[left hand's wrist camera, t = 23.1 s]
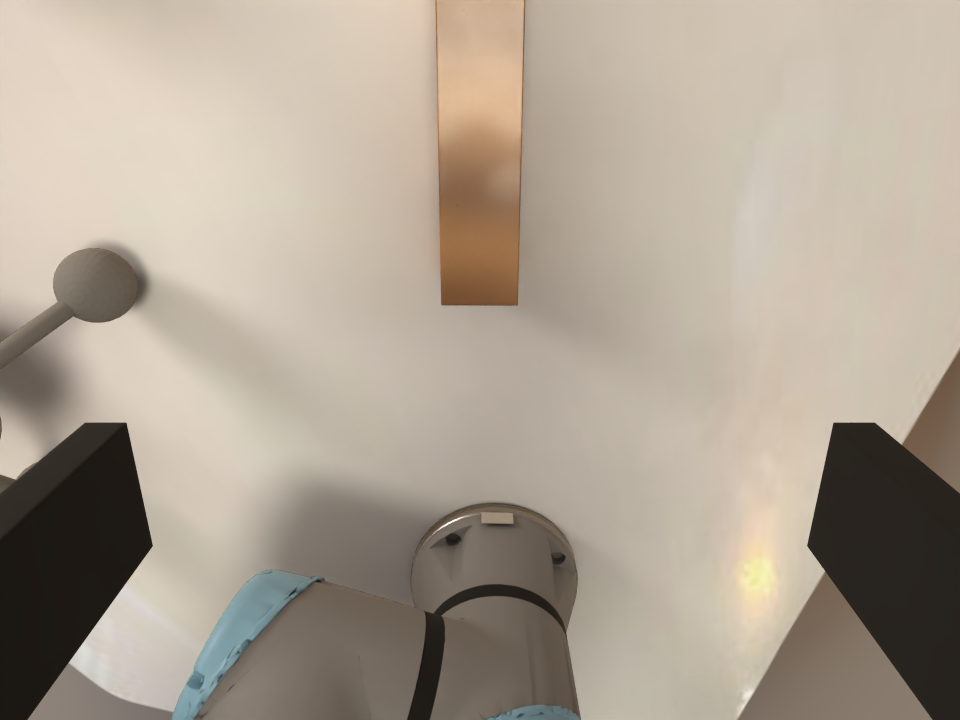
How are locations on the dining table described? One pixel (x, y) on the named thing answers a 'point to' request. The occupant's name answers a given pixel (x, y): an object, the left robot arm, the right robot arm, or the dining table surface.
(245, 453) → the dining table surface
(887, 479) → the left robot arm
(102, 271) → the molecular model
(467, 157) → the post
